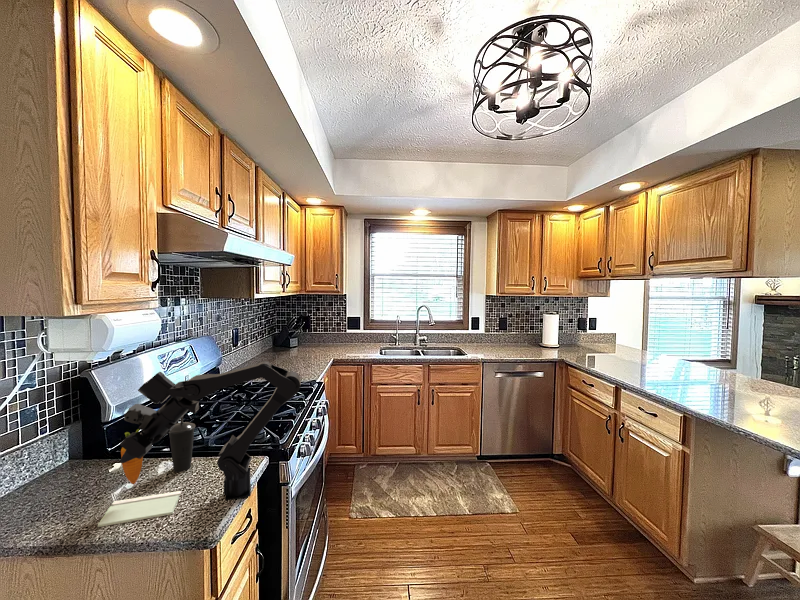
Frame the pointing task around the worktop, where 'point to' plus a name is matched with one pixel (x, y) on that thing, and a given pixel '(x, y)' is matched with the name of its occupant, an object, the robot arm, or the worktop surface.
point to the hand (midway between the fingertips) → (126, 457)
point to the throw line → (146, 498)
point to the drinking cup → (182, 445)
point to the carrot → (132, 465)
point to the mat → (139, 510)
